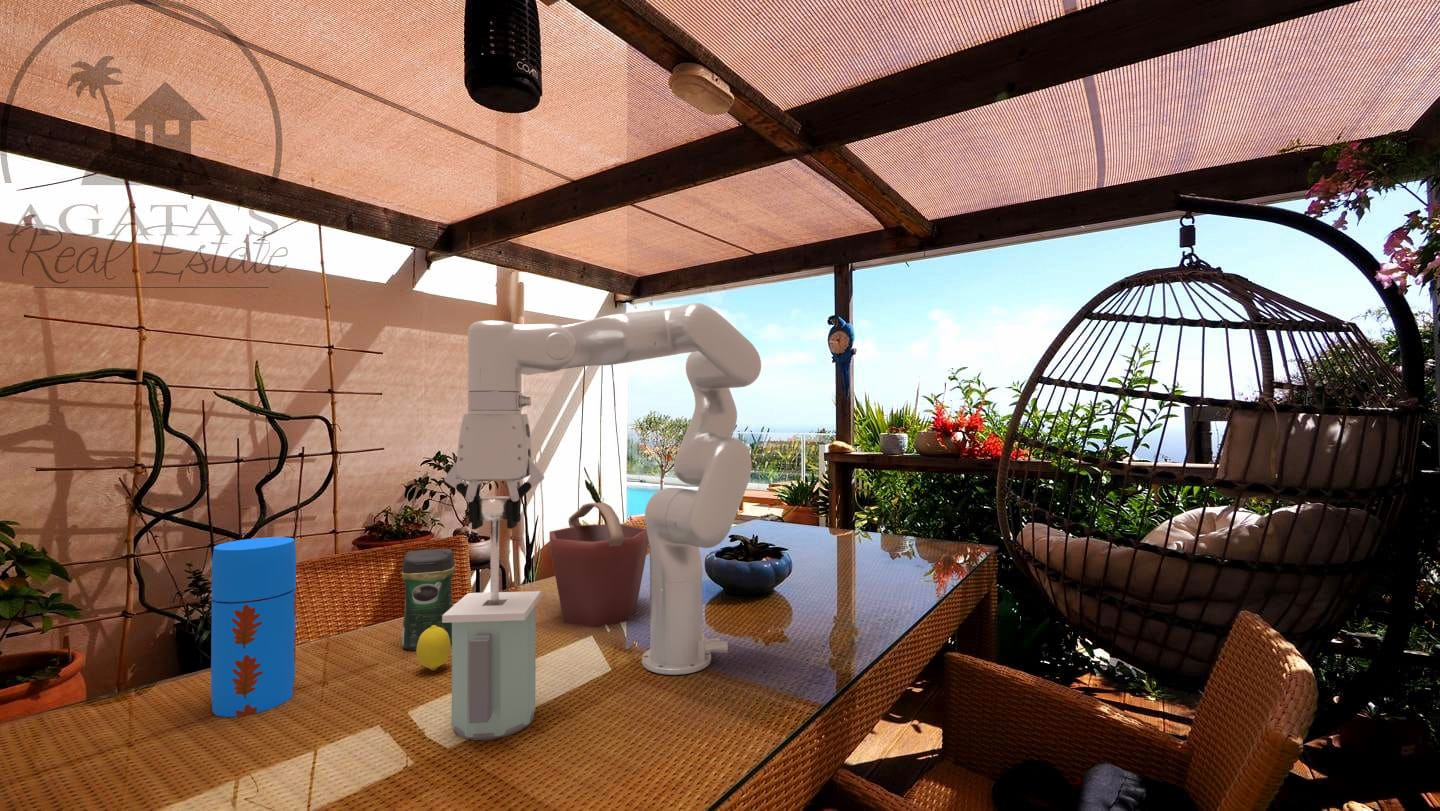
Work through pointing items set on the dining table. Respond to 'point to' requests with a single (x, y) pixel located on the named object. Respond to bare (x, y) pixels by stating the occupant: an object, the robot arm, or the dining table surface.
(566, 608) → the bucket
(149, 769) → the dining table surface
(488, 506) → the plunger
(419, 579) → the coffee jar
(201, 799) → the dining table surface
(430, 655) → the lemon
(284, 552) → the thermos
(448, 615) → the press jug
